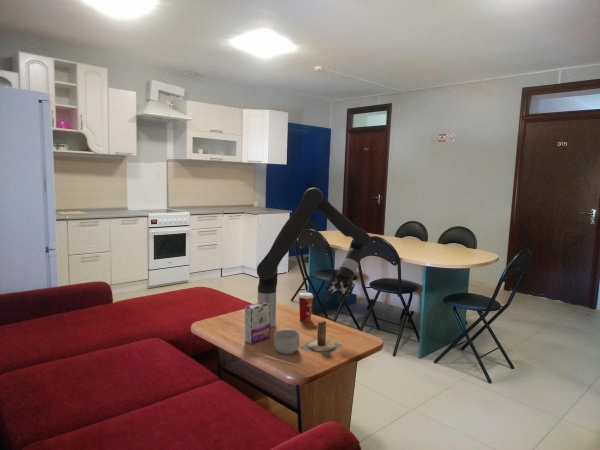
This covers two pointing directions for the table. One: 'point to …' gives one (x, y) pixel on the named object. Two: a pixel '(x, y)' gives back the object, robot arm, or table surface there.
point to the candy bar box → (257, 322)
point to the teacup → (286, 341)
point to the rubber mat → (321, 352)
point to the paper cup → (305, 306)
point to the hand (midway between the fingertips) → (333, 300)
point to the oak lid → (321, 340)
